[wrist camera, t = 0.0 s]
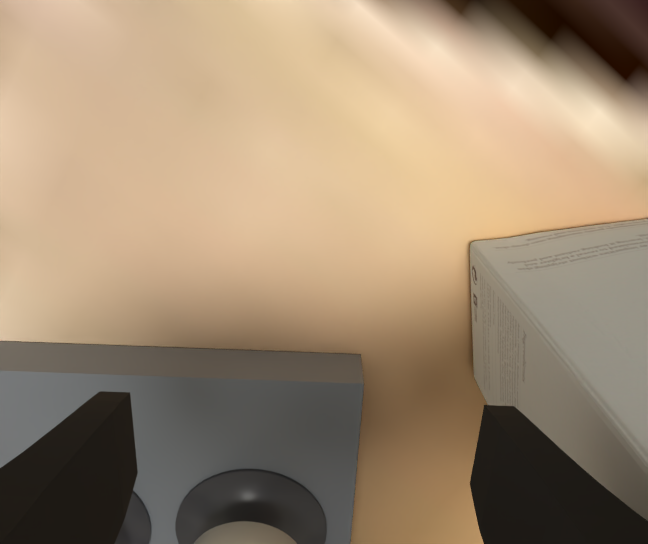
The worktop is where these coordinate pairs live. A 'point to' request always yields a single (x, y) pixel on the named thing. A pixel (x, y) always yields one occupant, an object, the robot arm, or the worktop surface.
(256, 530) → the button cream
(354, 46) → the worktop surface
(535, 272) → the skincare box
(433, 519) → the worktop surface
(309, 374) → the panel
